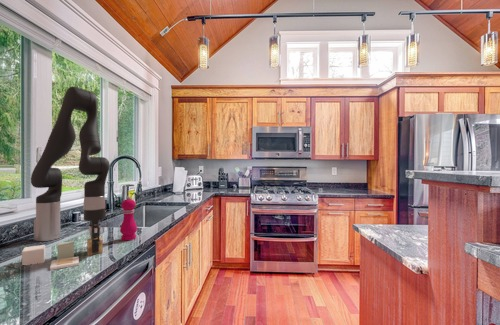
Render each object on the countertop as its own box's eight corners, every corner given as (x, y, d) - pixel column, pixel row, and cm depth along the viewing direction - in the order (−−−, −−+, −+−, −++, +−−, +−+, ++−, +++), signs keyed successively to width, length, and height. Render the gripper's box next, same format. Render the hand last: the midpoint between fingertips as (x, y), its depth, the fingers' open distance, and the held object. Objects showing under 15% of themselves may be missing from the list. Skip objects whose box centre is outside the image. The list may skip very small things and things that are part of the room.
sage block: (57, 260, 100) (57, 246, 100) (58, 256, 104) (58, 243, 104) (73, 257, 102) (73, 244, 102) (73, 253, 106) (73, 241, 106)
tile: (50, 270, 90) (50, 267, 90) (51, 262, 97) (51, 260, 97) (78, 265, 94) (78, 262, 94) (78, 258, 101) (78, 255, 101)
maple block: (87, 255, 105) (87, 242, 105) (87, 251, 109) (87, 239, 109) (102, 252, 107) (102, 240, 107) (101, 249, 111) (101, 237, 111)
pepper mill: (140, 237, 129) (140, 195, 129) (129, 241, 122) (128, 197, 123) (128, 236, 132) (128, 194, 132) (116, 240, 125) (116, 196, 125)
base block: (21, 266, 94) (21, 251, 94) (24, 261, 99) (24, 247, 99) (43, 262, 97) (43, 248, 97) (45, 258, 102) (45, 244, 102)
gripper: (107, 209, 104) (107, 253, 104) (103, 204, 116) (104, 244, 116) (84, 211, 100) (84, 257, 100) (83, 206, 112) (83, 247, 112)
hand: (94, 250), depth 108 cm, fingers closed on maple block, 5 cm apart
